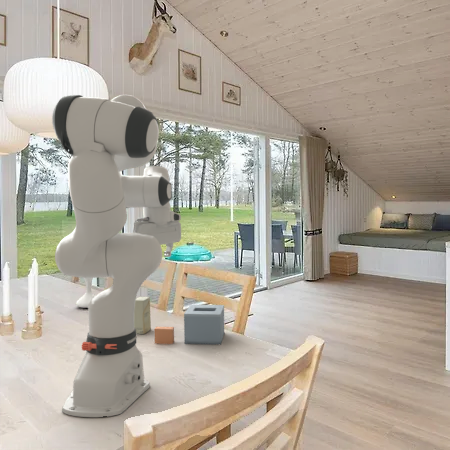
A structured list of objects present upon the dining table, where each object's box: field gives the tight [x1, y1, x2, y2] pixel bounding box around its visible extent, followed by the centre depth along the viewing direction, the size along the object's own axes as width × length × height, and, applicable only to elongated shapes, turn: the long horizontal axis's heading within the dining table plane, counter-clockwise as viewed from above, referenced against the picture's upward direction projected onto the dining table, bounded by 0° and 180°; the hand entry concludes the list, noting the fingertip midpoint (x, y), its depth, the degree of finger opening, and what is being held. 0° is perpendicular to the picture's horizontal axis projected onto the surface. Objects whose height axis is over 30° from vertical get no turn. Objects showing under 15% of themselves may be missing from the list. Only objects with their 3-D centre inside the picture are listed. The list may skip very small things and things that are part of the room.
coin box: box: [183, 304, 225, 346], centre depth 139 cm, size 12×12×10 cm
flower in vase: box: [75, 278, 97, 309], centre depth 184 cm, size 13×11×25 cm
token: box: [153, 326, 175, 345], centre depth 136 cm, size 2×6×5 cm, turn 84°
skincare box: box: [134, 296, 152, 335], centre depth 148 cm, size 6×4×12 cm
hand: (158, 258), depth 134 cm, fingers open, 8 cm apart
